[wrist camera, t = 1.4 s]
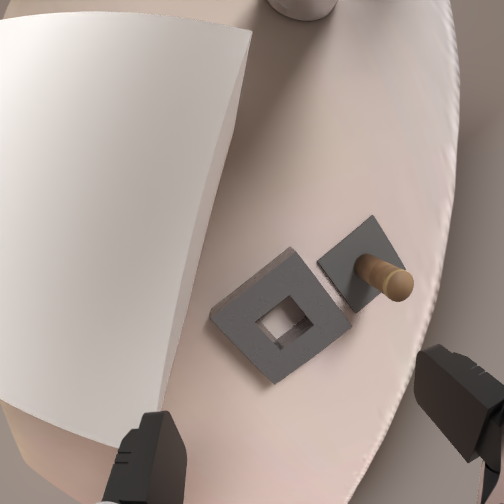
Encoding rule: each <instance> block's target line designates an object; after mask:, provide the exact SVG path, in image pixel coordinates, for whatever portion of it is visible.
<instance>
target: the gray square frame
mask: <svg viewBox="0 0 504 504" xmlns="http://www.w3.org/2000/svg"><path fill="white" fill-rule="evenodd" d="M289 295H290V296H291V297H292V299H293V300H294V301H295V302H296V304H297V305H298V306H299V307H300V308H301V310H302V311H303V312H304V313H305V315H306V316H307V317H306V318H305V319H303V320H302V321H301V322H299V323H298V324H297V325H295V326H294V327H293V328H292V329H290V330H289V331H288V332H286V333H285V334H284V335H282V336H281V337H280V338H278V339H277V340H276V339H275V337H274V336H273V335H272V334H271V333H270V332H269V331H268V330H267V329H266V327H265V326H264V325H263V324H262V323H261V322H260V321H259V320H258V319H259V318H261V317H262V316H263V315H264V314H266V313H267V312H268V311H270V310H271V309H272V308H274V307H275V306H276V305H277V304H279V303H280V302H281V301H283V300H284V299H285V298H286V297H288V296H289ZM210 319H211V320H212V321H213V322H214V323H215V324H216V325H217V326H218V327H219V329H220V330H221V331H222V332H223V333H224V334H225V335H226V336H227V337H228V338H229V339H230V340H231V341H232V342H233V343H234V344H235V345H236V346H237V347H238V348H239V349H240V350H241V351H242V352H243V354H244V355H245V356H246V357H247V358H248V359H249V360H250V361H251V362H252V363H253V364H254V365H255V366H256V367H257V368H258V369H259V370H260V371H261V372H262V373H263V374H264V375H265V376H266V377H267V378H268V379H269V380H270V381H272V382H273V383H274V384H276V383H277V382H279V381H280V380H282V379H283V378H285V377H286V376H287V375H289V374H290V373H292V372H293V371H295V370H296V369H297V368H299V367H300V366H301V365H303V364H304V363H306V362H307V361H308V360H310V359H311V358H312V357H314V356H315V355H316V354H318V353H319V352H320V351H322V350H323V349H324V348H326V347H327V346H328V345H329V344H331V343H332V342H333V341H335V340H336V339H337V338H338V337H340V336H341V335H342V334H343V333H345V332H346V331H347V330H348V329H350V328H351V327H352V325H351V324H350V323H349V321H348V320H347V318H346V317H345V316H344V314H343V313H342V312H341V310H340V309H339V308H338V306H337V305H336V304H335V302H334V301H333V300H332V298H331V297H330V296H329V294H328V293H327V292H326V290H325V289H324V288H323V286H322V285H321V284H320V282H319V281H318V280H317V278H316V277H315V276H314V274H313V273H312V272H311V270H310V269H309V268H308V266H307V265H306V264H305V263H304V261H303V260H302V259H301V257H300V256H299V255H298V253H297V252H296V251H295V250H294V249H293V248H291V247H289V248H288V249H287V250H285V251H284V252H283V253H282V254H280V255H279V256H278V257H277V258H275V259H274V260H273V261H272V262H270V263H269V264H268V265H266V266H265V267H264V268H263V269H261V270H260V271H259V272H258V273H256V274H255V275H254V276H253V277H251V278H250V279H249V280H248V281H246V282H245V283H244V284H243V285H241V286H240V287H239V288H237V289H236V290H235V291H234V292H232V293H231V294H230V295H229V296H227V297H226V298H225V299H223V300H222V301H221V302H220V303H218V304H217V305H216V306H214V307H213V308H212V309H211V317H210Z"/></svg>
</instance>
